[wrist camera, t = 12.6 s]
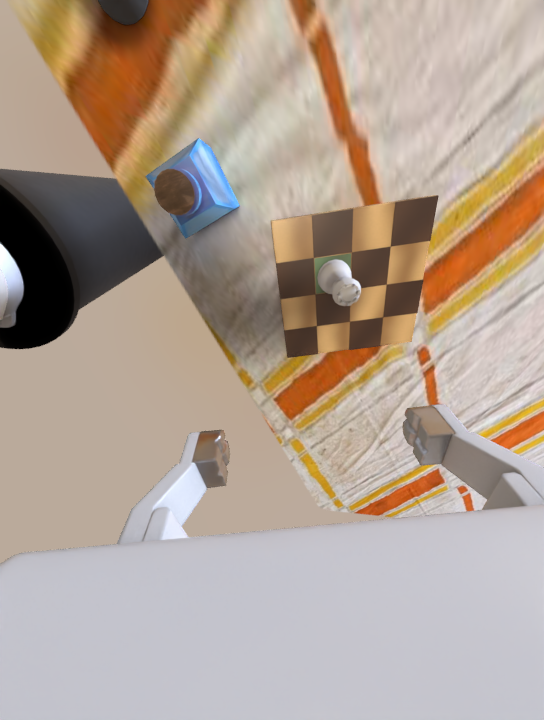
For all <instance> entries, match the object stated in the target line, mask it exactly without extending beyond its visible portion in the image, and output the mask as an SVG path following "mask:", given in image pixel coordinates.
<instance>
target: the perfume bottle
mask: <svg viewBox="0 0 544 720" xmlns="http://www.w3.org/2000/svg"><path fill="white" fill-rule="evenodd" d="M146 177H147V179H148V181H149V182H150V184H151V185H152V187H153V188H154V191H155V196H156V198H157V200H158V203H159V204H160V205H161V207H162V208H163V209H164V210H166V211H167V212H168V213H169V214H170V215H171V217H172V218H173V220H174V221H175V223H176V225H177V226H178V228H179V229H180V231H181V233H182V234H183V236H184V237H185V239H186V238H188V237H189V236H191V235H193V234H194V233H196V232H198V231H199V230H201V229H203V228H204V227H206V226H208V225H209V224H211V223H213V222H214V221H216V220H217V219H219V218H221V217H222V216H224V215H226V214H227V213H229V212H230V211H232V210H234V209H235V208H237V207H239V206H240V205H239V203H238V201H237V199H236V197H235V195H234V193H233V191H232V189H231V187H230V185H229V183H228V181H227V179H226V177H225V175H224V173H223V171H222V169H221V167H220V165H219V163H218V161H217V159H216V157H215V155H214V153H213V151H212V149H211V148H210V147H209V146H208V145H207V144H205V143H204V142H203V141H202V140H201V139H199V138H198V139H197V140H196V141H194V142H193V143H191V144H190V145H189V146H187V147H186V148H184V149H183V150H182V151H180V152H179V153H177V154H176V155H175V156H173V157H172V158H170V159H169V160H168V161H166V162H165V163H163V164H162V165H161V166H159V167H158V168H156V169H155V170H154V171H152V172H151V173H149V174H148V175H147V176H146Z"/></svg>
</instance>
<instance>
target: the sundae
mask: <svg viewBox="0 0 544 720" xmlns="http://www.w3.org/2000/svg"><path fill="white" fill-rule="evenodd" d="M98 2H99V3H100V5H101V7H102V8H103V10H104V11H105V12H106V13H107V14H108V15H109V16H110V17H111V18H112V19H113V20H115V21H117V22H119V23H121V24H124V25H130V24H134V23H136V22H137V21H139V20H140V19H141V18H142V17H143V15H144V13H145V11H146V8H147V5H148V0H98Z"/></svg>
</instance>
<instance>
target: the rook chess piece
mask: <svg viewBox="0 0 544 720" xmlns="http://www.w3.org/2000/svg"><path fill="white" fill-rule="evenodd" d="M317 278H318V284H319V286H320V287H321V289H322V290H323V291H325V292H326V293H328V294H333V299H334V301H335V303H337V304H338V305H341V306H350V305H352V304H353V303H354V302H357V301H358V300H359V299H358V298H359V296H360V294H361V286H360V284H359V282H358V281H356V280H355V279H352V274H351V270H350V268H349V266H348V265H347V264H346V263H345V262H343V261H342V260H337V259H335V260H331V261H328V262H327V263H325V264H324V265H323V266H322V267H321V269H320V270H319V273H318V277H317Z"/></svg>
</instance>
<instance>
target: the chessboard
mask: <svg viewBox="0 0 544 720" xmlns="http://www.w3.org/2000/svg"><path fill="white" fill-rule="evenodd" d="M437 201H438V195H432V196H426V197H419V198H413V199H406V200H400V201H394V202H387V203H381V204H374V205H368V206H361V207H355V208H349V209H342V210H336V211H329V212H323V213H317V214H310V215H304V216H297V217H291V218H284V219H278V220H272V221H271V226H272V234H273V242H274V250H275V258H276V267H277V275H278V283H279V291H280V299H281V308H282V316H283V324H284V332H285V340H286V348H287V356H288V358H290V357H297V356H305V355H313V354H318V353H325V352H333V351H341V350H353V349H361V348H369V347H376V346H380V345H388V344H396V343H404V342H411V341H412V336H413V331H414V325H415V320H416V314H417V312H418V306H419V301H420V295H421V289H422V284H423V275H424V269H425V264H426V258H427V252H428V247H429V241H430V240H431V234H432V228H433V223H434V217H435V212H436V206H437ZM335 259H337V260H342V261H343V262H345V263H346V264H347V265H348V266H349V268H350V270H351V274H352V279H355V280H356V281H358V282H359V284H360V286H361V294H360V296H359V298H358V299H359V300H358V301H357V302H354V303H353V304H352V305H350V306H341V305H338V304H337V303H335V301H334V299H333V294H328V293H326V292H325V291H323V290H322V289H321V287H320V286H319V284H318V278H317V277H318V273H319V270H320V269H321V267H322V266H323V265H324V264H325V263H327V262H328V261H331V260H335Z"/></svg>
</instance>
